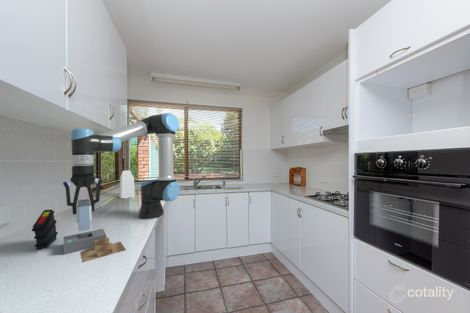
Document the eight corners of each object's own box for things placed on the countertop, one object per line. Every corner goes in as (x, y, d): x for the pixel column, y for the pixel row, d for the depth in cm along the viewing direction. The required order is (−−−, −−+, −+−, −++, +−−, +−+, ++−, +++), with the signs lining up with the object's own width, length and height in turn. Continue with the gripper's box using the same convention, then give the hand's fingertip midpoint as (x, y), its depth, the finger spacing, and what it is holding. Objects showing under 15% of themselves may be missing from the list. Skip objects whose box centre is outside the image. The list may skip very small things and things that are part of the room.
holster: (120, 243, 90) (120, 233, 90) (126, 252, 81) (126, 241, 81) (80, 254, 81) (80, 242, 81) (82, 265, 72) (82, 252, 72)
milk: (132, 195, 209) (131, 169, 209) (135, 197, 200) (134, 170, 200) (119, 197, 202) (118, 170, 201) (121, 198, 192) (120, 171, 192)
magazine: (60, 233, 100) (53, 208, 94) (49, 256, 89) (40, 229, 83) (50, 234, 99) (43, 209, 93) (38, 257, 87) (28, 231, 81)
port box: (103, 239, 95) (102, 228, 95) (106, 246, 88) (106, 234, 88) (63, 248, 86) (63, 236, 86) (63, 257, 79) (63, 243, 79)
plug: (88, 226, 90) (88, 199, 90) (89, 229, 86) (89, 200, 86) (78, 228, 88) (77, 200, 88) (79, 231, 84) (78, 202, 84)
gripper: (56, 166, 79) (57, 227, 79) (107, 164, 90) (108, 218, 89) (57, 165, 85) (58, 222, 84) (104, 164, 95) (105, 215, 95)
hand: (83, 220), depth 87 cm, fingers closed on plug, 4 cm apart
